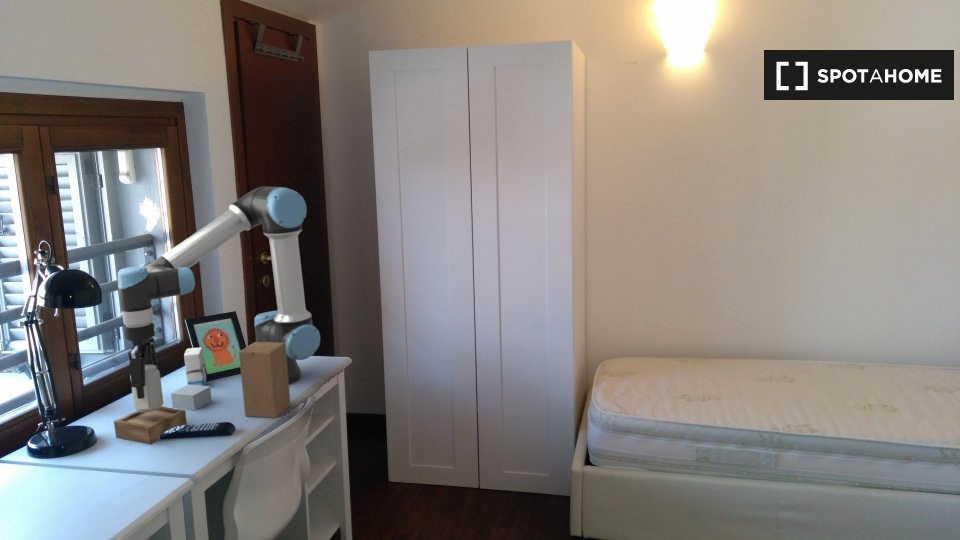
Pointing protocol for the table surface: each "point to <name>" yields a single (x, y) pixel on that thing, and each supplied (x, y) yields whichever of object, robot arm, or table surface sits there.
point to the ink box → (195, 366)
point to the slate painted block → (191, 397)
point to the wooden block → (264, 379)
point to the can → (151, 389)
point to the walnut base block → (149, 424)
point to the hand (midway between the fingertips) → (148, 402)
